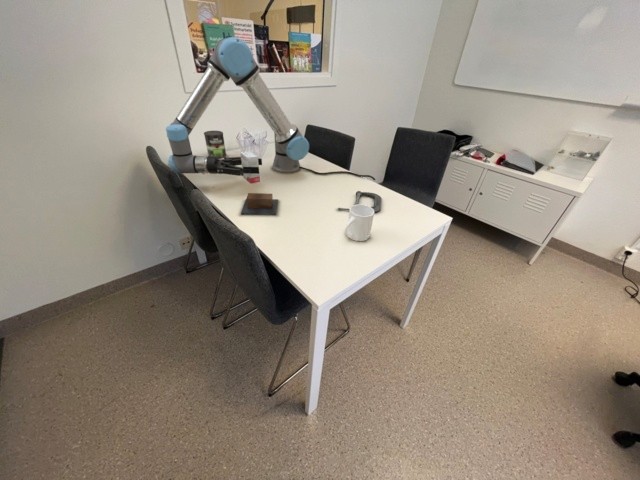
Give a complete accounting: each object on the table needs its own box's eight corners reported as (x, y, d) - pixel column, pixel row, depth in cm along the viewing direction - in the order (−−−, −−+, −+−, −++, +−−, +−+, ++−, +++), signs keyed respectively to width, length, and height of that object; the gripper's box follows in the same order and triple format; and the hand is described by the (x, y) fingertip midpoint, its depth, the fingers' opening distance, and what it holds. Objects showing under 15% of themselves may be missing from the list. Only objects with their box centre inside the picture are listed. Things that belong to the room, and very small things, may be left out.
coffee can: (228, 159, 155) (224, 134, 147) (210, 161, 151) (205, 135, 143) (225, 153, 162) (221, 129, 154) (207, 155, 158) (202, 131, 150)
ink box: (260, 182, 118) (258, 156, 111) (250, 184, 116) (247, 157, 109) (253, 175, 124) (250, 150, 117) (243, 177, 121) (239, 151, 114)
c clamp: (378, 218, 109) (379, 212, 107) (337, 210, 113) (338, 204, 111) (384, 198, 124) (385, 192, 123) (348, 191, 128) (349, 186, 127)
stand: (278, 201, 116) (277, 189, 113) (276, 215, 107) (275, 203, 103) (246, 200, 115) (244, 189, 112) (241, 214, 105) (239, 202, 102)
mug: (335, 237, 96) (338, 212, 90) (356, 226, 103) (360, 202, 97) (353, 248, 91) (357, 222, 85) (374, 236, 98) (379, 211, 92)
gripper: (216, 164, 125) (263, 165, 127) (202, 183, 108) (258, 184, 109) (213, 148, 121) (262, 149, 123) (198, 165, 103) (256, 167, 105)
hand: (260, 166), depth 116 cm, fingers closed on ink box, 9 cm apart
